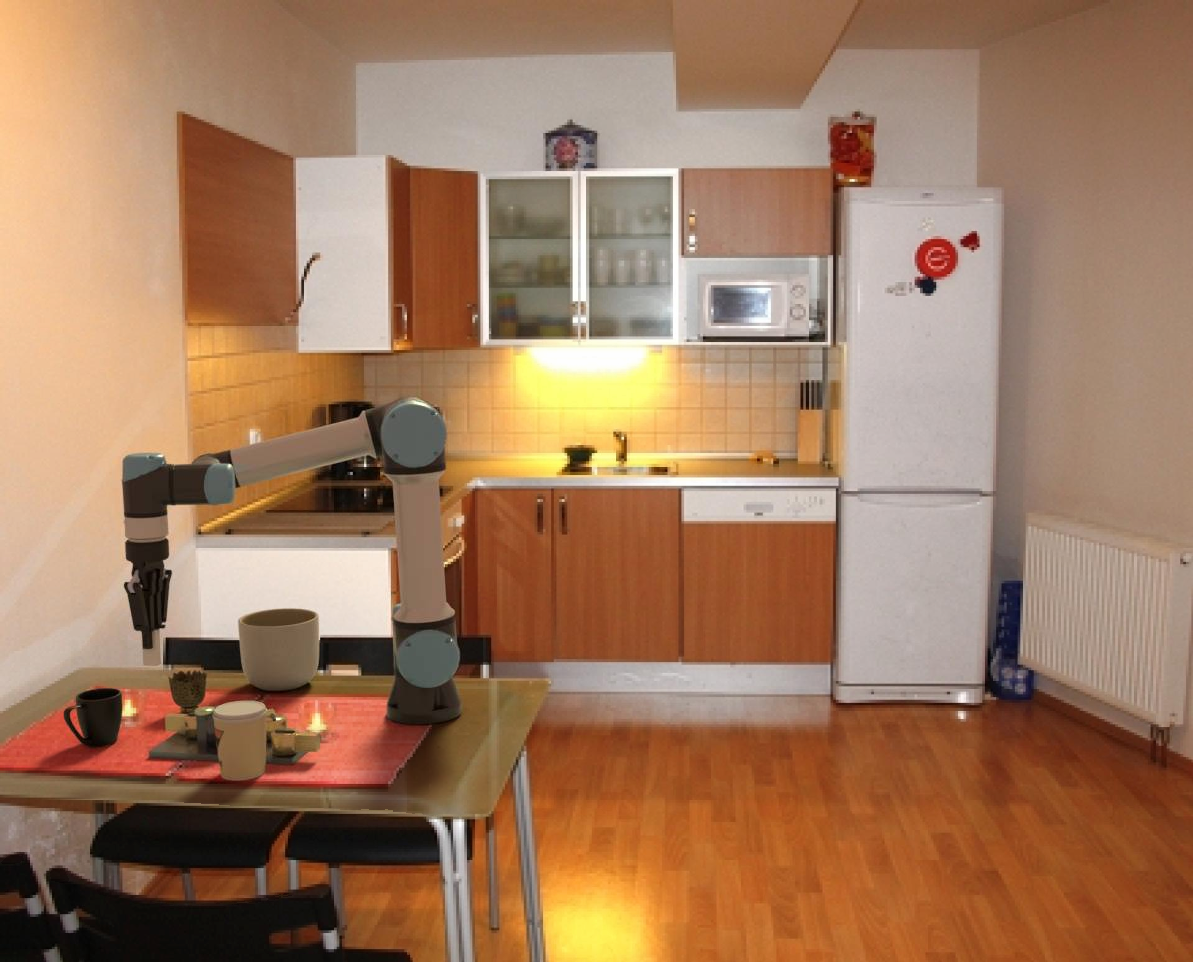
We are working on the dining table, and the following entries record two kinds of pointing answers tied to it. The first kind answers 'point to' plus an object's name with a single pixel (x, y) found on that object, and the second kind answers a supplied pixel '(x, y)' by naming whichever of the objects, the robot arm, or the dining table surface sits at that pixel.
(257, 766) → the coffee cup
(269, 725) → the knob
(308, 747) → the knob
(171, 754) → the plate
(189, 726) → the knob
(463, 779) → the dining table surface
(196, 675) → the cup
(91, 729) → the mug
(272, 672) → the planter
